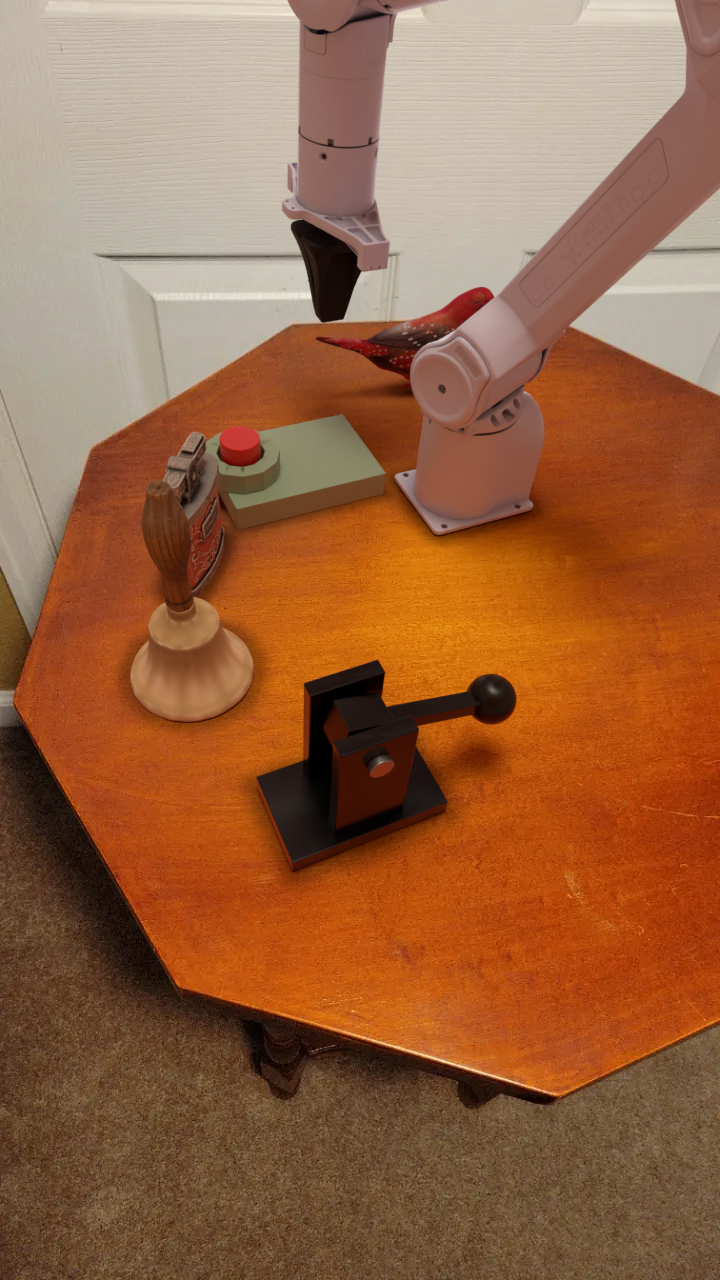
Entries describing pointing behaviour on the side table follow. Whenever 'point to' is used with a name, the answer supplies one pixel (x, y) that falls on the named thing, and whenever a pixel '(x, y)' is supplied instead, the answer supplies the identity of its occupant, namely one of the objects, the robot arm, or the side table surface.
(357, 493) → the button box
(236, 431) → the button
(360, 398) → the side table surface
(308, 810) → the lever base
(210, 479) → the lighter
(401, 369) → the decorative bird figurine
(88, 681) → the side table surface
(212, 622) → the hand bell
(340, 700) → the black lever handle
